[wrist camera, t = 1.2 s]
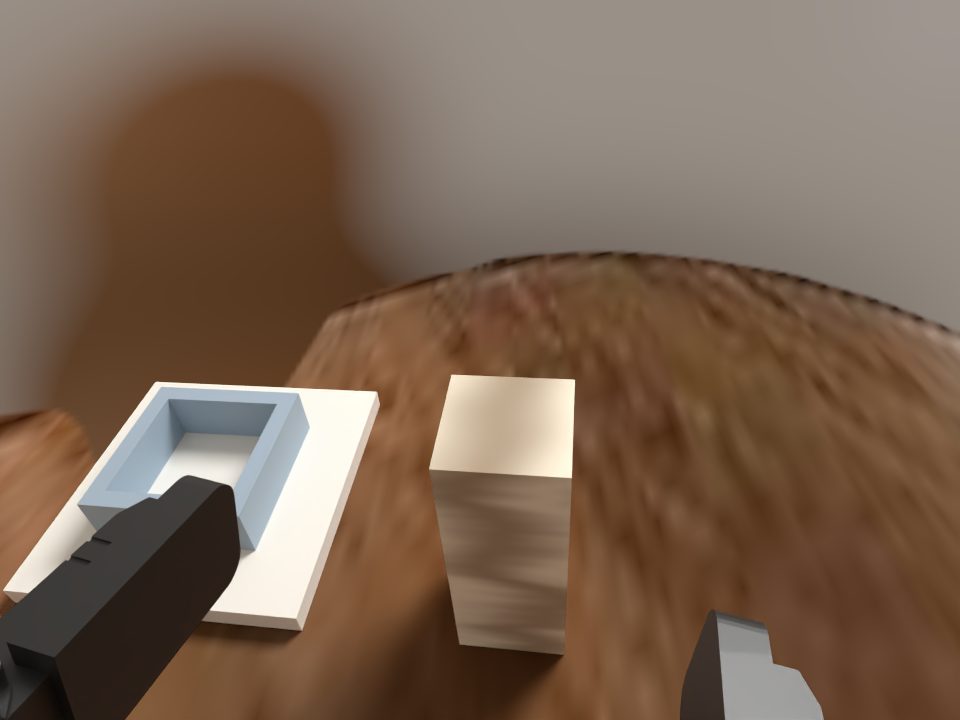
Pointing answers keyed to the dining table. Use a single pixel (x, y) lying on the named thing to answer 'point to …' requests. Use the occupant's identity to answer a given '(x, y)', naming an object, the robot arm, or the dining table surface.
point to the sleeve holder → (247, 469)
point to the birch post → (506, 508)
